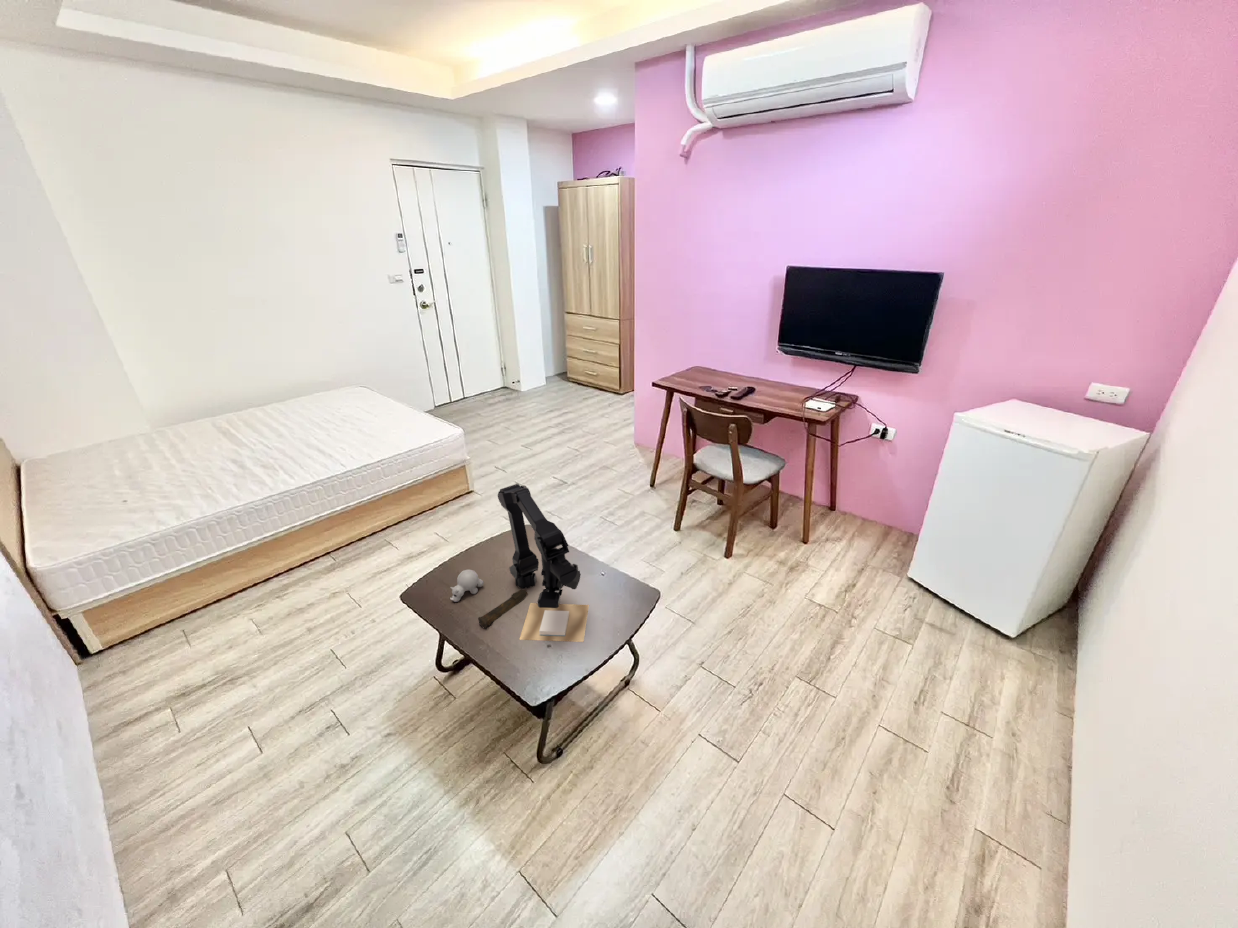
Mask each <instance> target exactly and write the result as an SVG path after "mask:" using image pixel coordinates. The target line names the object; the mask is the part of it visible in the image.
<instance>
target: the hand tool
mask: <svg viewBox="0 0 1238 928" xmlns="http://www.w3.org/2000/svg"><path fill="white" fill-rule="evenodd" d="M528 592H529V591H527V589H523V588H520V589H519V590H517V591H515V592H513V593H512V594H511V595H510V597H509V598H508V599H507V600H505V601H504V602H502V603H500V604H499V605H497V606H496V607H495V608H492V609H491V610H490V611H488V612H487V613H484V614H483V615H482V616H478V624H479V625H480V626H481V627H482V629H485V630H487V628H488V627H490V626H491V625H492V623H494V622H495V621H496V620H498V618H500V617H501V616H503V615H504V614H506V613H507V612H509V611H510V610H511V609H513V608H514V607H516V606H517V605H519V604H520V603H522V601H524V600H525V599H526V597H527V596H528V595H529V594H528Z"/></svg>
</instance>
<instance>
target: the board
mask: <svg viewBox="0 0 1238 928" xmlns="http://www.w3.org/2000/svg"><path fill="white" fill-rule="evenodd" d="M589 607H590V605H589V604H573V603H571V604H570V603H559V607H558V608H539V607H538V602H537V603H536V602H530V604H529V606H528V610H527V613H526V616H525V619H524V622H523V623H524V624H523V627H522V628H521V629H522V630H521V633H520V637H519V639H518V640H520V641H544V642H545V641H546V642H548V641H549V642H570V643H571V642H572V643H573V642H574V643H576V642H577V643H584V641H585V637H586V636H585V634H586V629H587V622H588V614H589ZM545 610H551V611H569V619H568V624H567V630H566V635H565V636H543V635H540V633H539V630H540V627H541V623H542V619H543V615H544V611H545Z"/></svg>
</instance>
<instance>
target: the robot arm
mask: <svg viewBox="0 0 1238 928" xmlns="http://www.w3.org/2000/svg"><path fill="white" fill-rule="evenodd" d="M497 499H498V502H499V503H500V505H501V507H502V508H503V509H505V511H506V512H507V514H508V520H509V524H510V526H509V527H510V530H511V534H512V539H513V540H512V541H513V544H514V549H515V550H514V553H513V555H512V558H511V559H512V565H511V566H509V568H508V569H509V571H510V574H511V576H512V577H513V578H514V581H515V587H518V588H520V589H529V588H530V587H535V586H536V583H537V575H536V573H535V572H538V570H539V564H540V562H539V558H537V555H536V554H535V553H534V551H532V550H531V549H530V544H529V538H528V533H527V529H526V523H525V518H526V519H527V521H528V524H529V525H530V526H531V528H532V530H533V531H534V538H533V539H534V541H535V545H536V547H537V549H538V551H539V553H540V556H541V558H540V559H541V567H542V568H541V572H540V575H541V576H542V577H543V580H542V583H541V585H542V587H545V588H543V589H542V591H541V592H540V593H539V594H538V598H537V603H538V607H539V608H558V607H559V604H561V596H562V594H563V587H567V588H570V589H572V590H576V589H577V588H578V587H579V583H580V580H581V570H579V567H578V566H579V565H578V564H576V563H573V564H572V563H571V562H570V561H569V560H568V559H567V558H566V554H568V553H570V550H569V544H568V542H567V540H566V537H565V535H564V533H563V532H562V530H561V529H559V527H558V526H557V525H556V524H555V523H554V522H552V521H550V520H548V519H547V518H546V517H545V515H544V513H543V512H542V511H541V509H540V507H539V506H538V505H537V503H536V501H535V500H534V498H533V497H532V495H531V490H530V489H529V487H527V485H520V484H519V483H516V484H512V485H509V486H505V487H502V488H500V489H499V491H498V493H497ZM559 546H561V547H559ZM558 547H559V548H558Z"/></svg>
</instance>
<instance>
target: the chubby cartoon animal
mask: <svg viewBox="0 0 1238 928" xmlns="http://www.w3.org/2000/svg"><path fill="white" fill-rule="evenodd" d="M483 585H484V580H483V579H481V578H479V575H478V573H477V572H476V570H472V569H464V570H462V571H461V572H460V573H459V574H458V576H457V579H456V585H454V586H449V587H450V589H451V593H452V596H451V597H449V599H450V600H451V601H453V602H455V603H457V602H459V601H460V600H461V599H462V597H463V596H464V595H465V592H467V591H469V593H471V594H472V595H476V594H477V593H478V590H479V589H478V588H481V587H483Z"/></svg>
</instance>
